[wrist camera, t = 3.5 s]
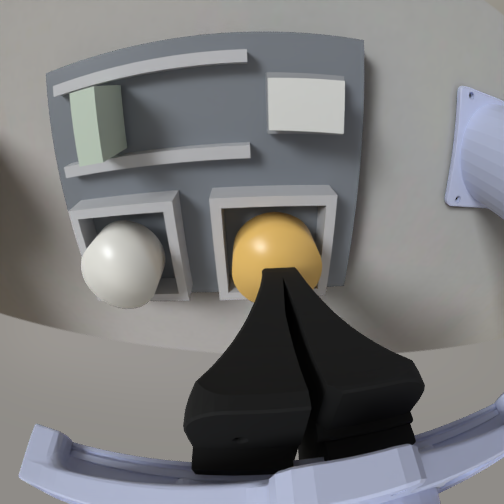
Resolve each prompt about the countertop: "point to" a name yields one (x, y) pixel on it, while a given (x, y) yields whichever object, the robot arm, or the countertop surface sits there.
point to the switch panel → (214, 150)
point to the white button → (124, 264)
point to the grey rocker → (306, 105)
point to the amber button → (273, 251)
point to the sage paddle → (98, 123)
